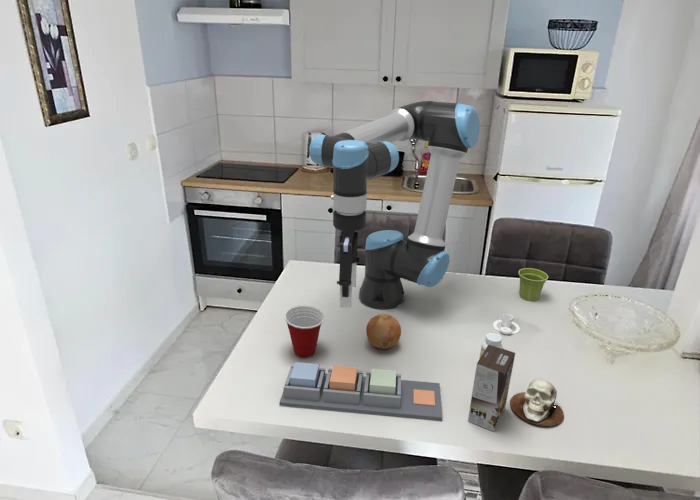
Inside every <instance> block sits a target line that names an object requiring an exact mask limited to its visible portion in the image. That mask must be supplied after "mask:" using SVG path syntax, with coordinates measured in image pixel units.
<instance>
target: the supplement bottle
mask: <svg viewBox="0 0 700 500" xmlns="http://www.w3.org/2000/svg"><path fill="white" fill-rule="evenodd" d="M484 339H485V340H483V341H482V342H481V347H480V353H479V358H478V359H480V358H481V356H482V354H483V353H484V351H485V349H486V348H487V346H488V345H491V346H494V347H498V348H502V349H504V347H503V344H502V342H503V341H502V340H503V337H502V336H501V335H500V334H498V333H495V332H489V333H487V334H485V338H484Z"/></svg>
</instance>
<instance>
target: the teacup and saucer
mask: <svg viewBox="0 0 700 500" xmlns="http://www.w3.org/2000/svg"><path fill="white" fill-rule="evenodd" d="M501 317H502V318H501V319H496V320H495V321H493V322H492V327H493V328H494V329H495V330H496V331H497V332H500V333H501V334H504V335H515V334H518V333H519V332H520V331H521V326H520V325H519V324H517V323H516V322H514V321H513V320H514V316H513V315H512V314H509V313H503V314H502V315H501ZM499 323H501V327H500V328H499V327H498V326H497V325H498V324H499ZM512 325H513V326H514V327H515V330H514V331H513V330H512V329H511V326H512Z"/></svg>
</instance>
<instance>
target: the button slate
mask: <svg viewBox="0 0 700 500" xmlns="http://www.w3.org/2000/svg"><path fill="white" fill-rule="evenodd" d="M319 368H320V363H309V362H298V361H296V362H294V367H293V370H292V373H291V376H290V386H296V387H307V388H316V384H317V381H318V377H319Z"/></svg>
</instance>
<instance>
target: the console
mask: <svg viewBox="0 0 700 500" xmlns="http://www.w3.org/2000/svg"><path fill="white" fill-rule="evenodd" d="M294 365H295V364H294ZM294 365H291V366H290V368H289V370H288V373H287V377H286V380H285V383H284V385H283V391H282V393H281V396H280V400H279V402H278V403H279V406H281V407H291V408H292V407H293V408H301V409H302V408H303V409H312V410H321V411H322V410H323V411H332V412H333V411H334V412H343V413H355V414H364V415H365V414H366V415H375V416H376V415H377V416H388V417H396V418H397V417H399V418H408V419H418V420H419V419H420V420H429V421H440V422H442V421H443V411H442V410H443V409H442V400H441V398H442V397H441V396H442V395H441V385H440V382H430V381H429V382H428V381H419V380H406V379H402V374H398V373H396V388H395V395H385V394H374V393H369V391H370V379H371V371H366V373H365V376H364V371H362V370H357V382H356V388H355V392H352V391H341V390H330V389H329V381H330V377H331V373H332V367H331V368H328V370H327V372H326V367H319V377H318V381H317V384H316V388H307V387H296V386H290V376H291V373H292V370H293V367H294Z"/></svg>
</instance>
